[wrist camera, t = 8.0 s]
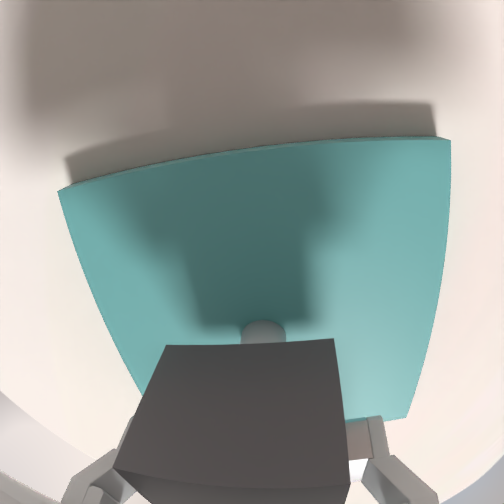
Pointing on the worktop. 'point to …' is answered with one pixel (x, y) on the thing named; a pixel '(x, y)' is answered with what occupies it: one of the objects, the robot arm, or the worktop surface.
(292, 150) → the board
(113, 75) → the worktop surface
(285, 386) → the knob
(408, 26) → the worktop surface
